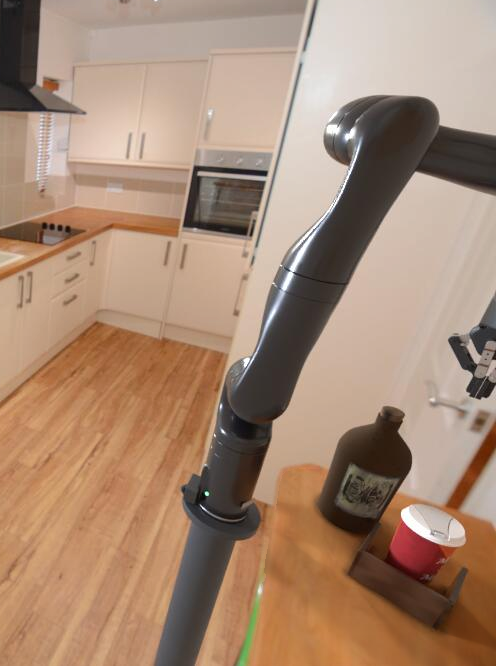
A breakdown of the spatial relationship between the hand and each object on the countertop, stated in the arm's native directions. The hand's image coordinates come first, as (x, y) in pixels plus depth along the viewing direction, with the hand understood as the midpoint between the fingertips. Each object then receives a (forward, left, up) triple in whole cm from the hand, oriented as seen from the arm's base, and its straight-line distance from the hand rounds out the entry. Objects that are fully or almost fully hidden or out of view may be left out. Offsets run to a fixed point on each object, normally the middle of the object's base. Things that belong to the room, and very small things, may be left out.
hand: (475, 396), depth 77 cm
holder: (-2, -18, -29) cm, 34 cm away
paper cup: (-1, -17, -29) cm, 34 cm away
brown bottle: (-10, -6, -29) cm, 31 cm away
